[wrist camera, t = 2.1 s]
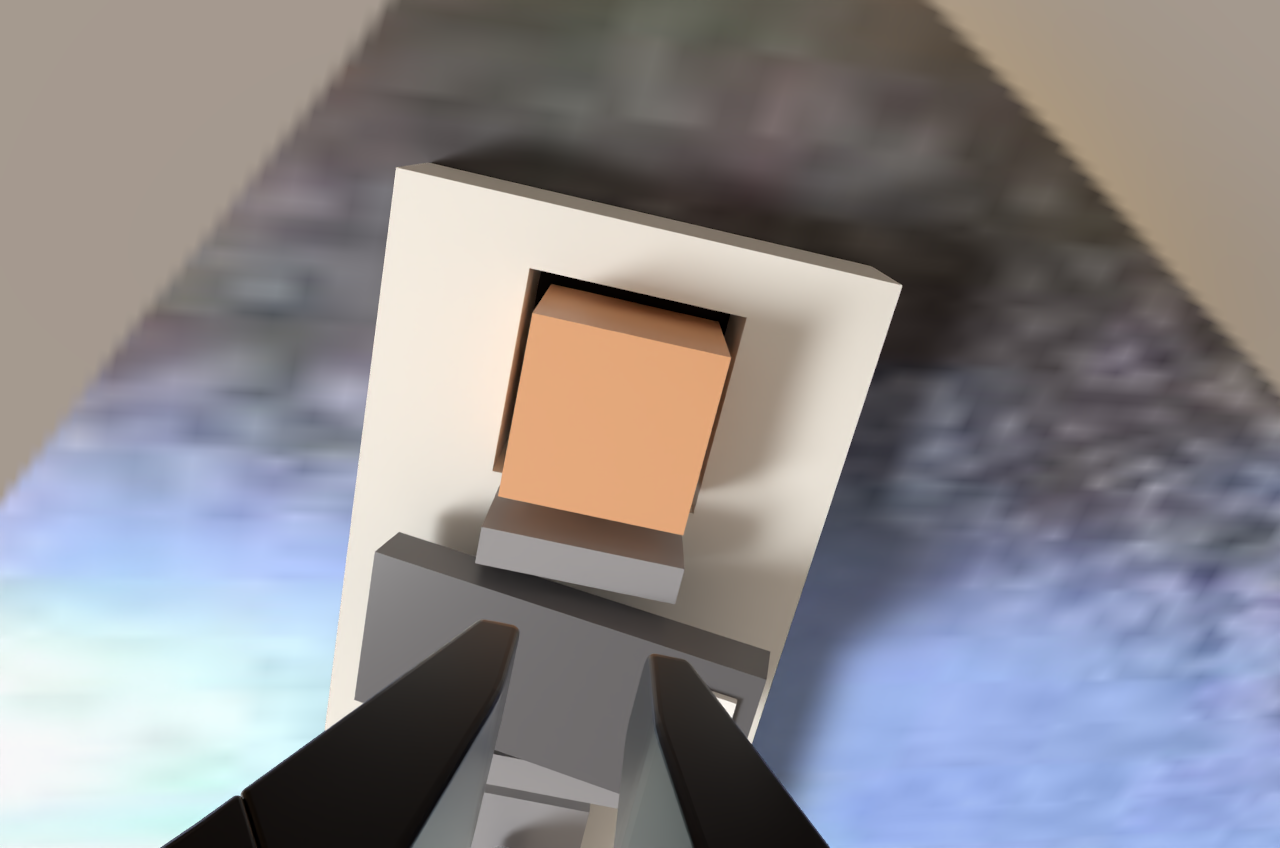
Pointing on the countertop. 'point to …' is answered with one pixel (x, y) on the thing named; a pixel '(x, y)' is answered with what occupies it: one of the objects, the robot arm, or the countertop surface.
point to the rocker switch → (543, 653)
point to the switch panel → (576, 543)
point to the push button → (614, 409)
